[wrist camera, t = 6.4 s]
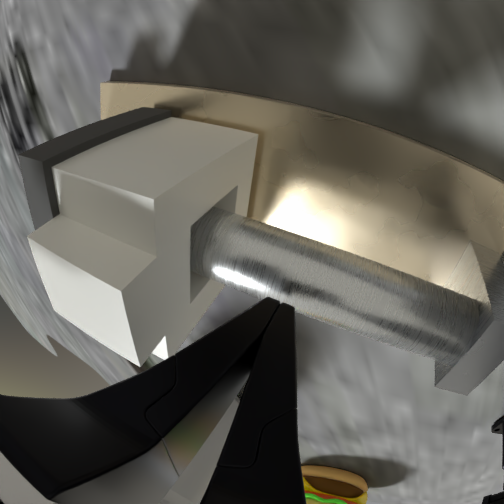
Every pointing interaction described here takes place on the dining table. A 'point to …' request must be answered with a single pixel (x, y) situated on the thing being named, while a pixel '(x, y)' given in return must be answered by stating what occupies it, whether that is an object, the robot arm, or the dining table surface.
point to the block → (66, 146)
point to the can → (202, 464)
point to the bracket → (140, 232)
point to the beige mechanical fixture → (353, 228)
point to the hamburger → (333, 486)
